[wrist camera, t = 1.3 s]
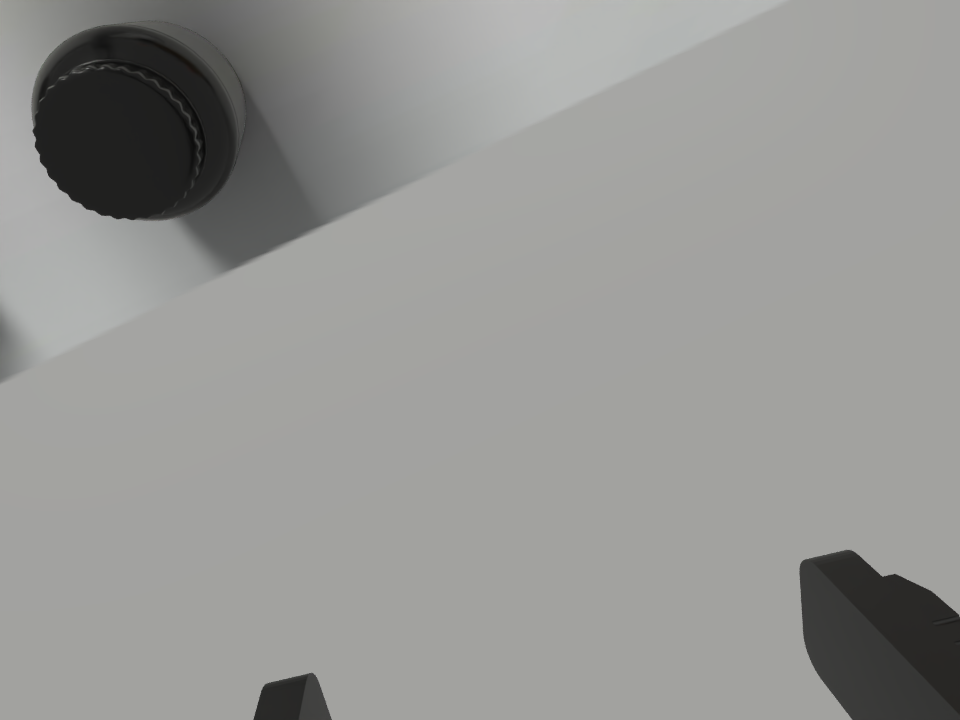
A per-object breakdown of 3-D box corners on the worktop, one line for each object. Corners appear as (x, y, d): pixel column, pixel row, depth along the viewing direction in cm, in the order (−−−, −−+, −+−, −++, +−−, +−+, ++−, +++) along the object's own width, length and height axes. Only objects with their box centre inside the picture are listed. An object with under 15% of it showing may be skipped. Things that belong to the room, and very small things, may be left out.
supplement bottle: (263, 163, 34) (256, 236, 24) (119, 184, 33) (45, 271, 23) (225, 9, 31) (197, 17, 20) (63, 26, 30) (-54, 45, 19)
